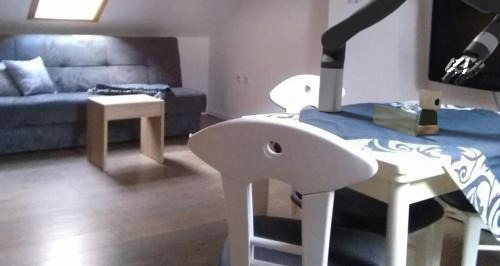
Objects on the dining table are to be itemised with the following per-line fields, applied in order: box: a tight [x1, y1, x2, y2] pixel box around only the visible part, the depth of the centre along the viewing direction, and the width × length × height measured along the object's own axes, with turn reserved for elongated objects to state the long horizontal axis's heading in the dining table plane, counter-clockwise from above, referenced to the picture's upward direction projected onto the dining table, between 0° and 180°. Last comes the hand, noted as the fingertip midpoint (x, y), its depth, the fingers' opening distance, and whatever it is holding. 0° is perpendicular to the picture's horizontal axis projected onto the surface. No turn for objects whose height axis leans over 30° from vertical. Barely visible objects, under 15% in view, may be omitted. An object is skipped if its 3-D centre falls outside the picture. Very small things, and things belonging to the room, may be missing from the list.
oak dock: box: [372, 103, 440, 137], centre depth 163 cm, size 11×22×7 cm, turn 21°
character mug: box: [418, 88, 443, 126], centre depth 166 cm, size 11×7×13 cm, turn 144°
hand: (450, 83), depth 167 cm, fingers open, 5 cm apart
